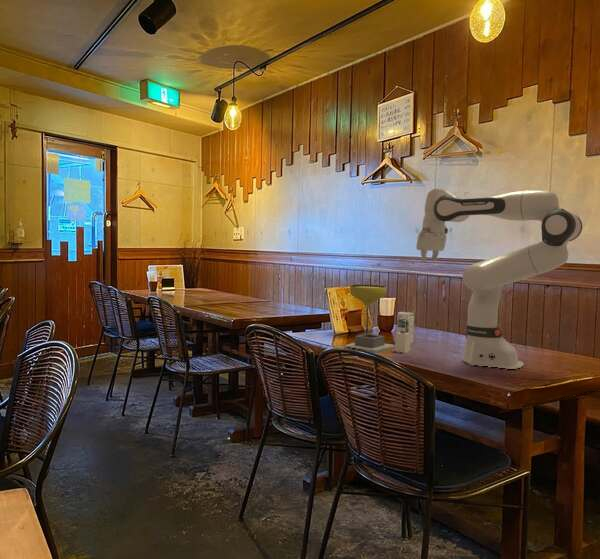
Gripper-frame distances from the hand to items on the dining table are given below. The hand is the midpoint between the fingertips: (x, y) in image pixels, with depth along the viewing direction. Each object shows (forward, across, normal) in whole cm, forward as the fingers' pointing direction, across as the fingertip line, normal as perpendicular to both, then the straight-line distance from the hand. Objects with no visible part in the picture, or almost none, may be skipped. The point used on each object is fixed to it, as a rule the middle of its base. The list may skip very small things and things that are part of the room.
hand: (428, 261), depth 208 cm
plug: (+40, -4, +5) cm, 40 cm away
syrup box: (+40, +14, +13) cm, 45 cm away
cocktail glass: (+43, +18, +36) cm, 59 cm away
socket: (+41, -6, +20) cm, 46 cm away
